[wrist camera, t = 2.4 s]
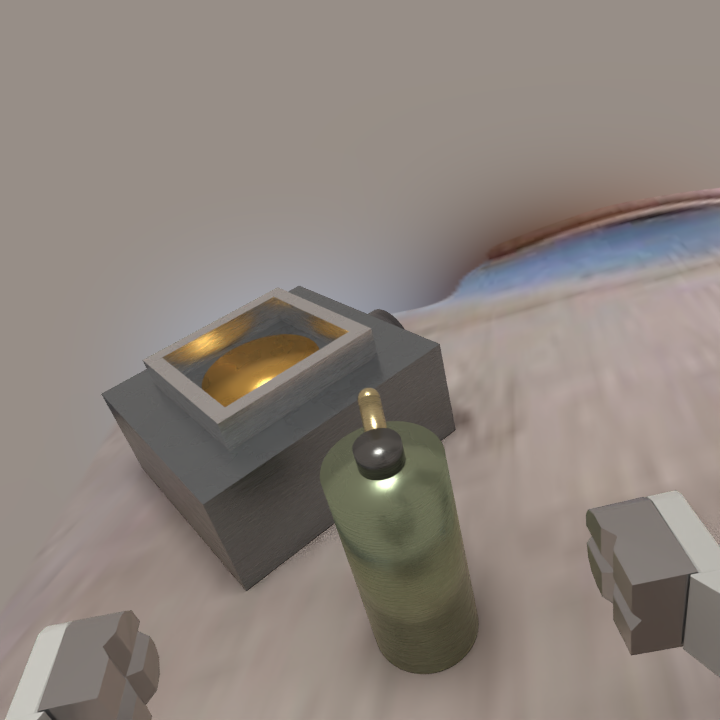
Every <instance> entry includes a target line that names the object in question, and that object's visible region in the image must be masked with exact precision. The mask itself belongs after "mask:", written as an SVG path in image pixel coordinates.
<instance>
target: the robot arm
mask: <svg viewBox="0 0 720 720" xmlns="http://www.w3.org/2000/svg"><path fill="white" fill-rule="evenodd" d="M586 525H587V527H588V529H589V531H590V533H591V535H592V537H591V538H590V539H589V541H588V542H587V549H588V558H589V562H590V566H591V570H592V573H593V576H594V579H595V581H596V584H597V586H598V588H599V590H600V593H601V595H602V597H604V598H605V599H607V600H608V601H610V602H611V603H613V620H614V622H615V624H616V626H617V628H618V630H619V632H620V634H621V636H622V638H623V640H624V642H625V644H626V646H627V648H628V650H629V652H630V654H631V655H637V654H642V653H648V652H654V651H659V650H665V649H670V648H676V647H682V646H684V647H683V649H684V650H685V651H687V652H688V653H689V654H690V655H692V656H693V657H694V658H696V659H697V660H698V661H699V662H701V663H702V664H703V665H705V666H706V667H707V668H708V669H710V670H711V671H712V672H714V673H715V674H716V675H717V676H719V677H720V546H719V544H718V543H717V541H716V540H715V539H714V537H713V536H712V535H711V533H710V532H709V531H708V529H707V528H706V526H705V525H704V524H703V522H702V521H701V520H700V518H699V517H698V516H697V514H696V513H695V511H694V510H693V509H692V507H691V506H690V505H689V503H688V502H687V501H686V499H685V498H684V496H683V495H682V494H681V493H679V492H678V491H676V490H675V491H670V492H666V493H661V494H657V495H652V496H647V497H641V498H636V499H632V500H628V501H623V502H619V503H615V504H610V505H606V506H602V507H597V508H593V509H589V510H588V511H587V514H586ZM139 623H140V621H139V619H138V618H137V617H136V615H135V614H134V613H133V611H132V610H130V611H123V612H118V613H112V614H107V615H102V616H96V617H91V618H86V619H81V620H75V621H71V622H66V623H61V624H56V625H51V626H46V627H45V628H44V629H43V630H42V631H41V632H40V634H39V635H38V636H37V639H36V641H35V644H34V647H33V649H32V652H31V654H30V657H29V659H28V662H27V665H26V667H25V670H24V672H23V675H22V677H21V680H20V682H19V685H18V688H17V690H16V693H15V695H14V698H13V700H12V703H11V706H10V708H9V711H8V713H7V716H6V718H5V719H4V720H151V719H152V715H151V713H150V711H149V710H148V708H147V706H146V704H147V703H148V702H149V700H150V699H151V698H152V696H153V695H154V694H155V692H156V691H157V688H158V682H159V676H160V667H159V655H158V652H157V649H156V646H155V644H154V642H153V641H152V639H151V637H150V636H148V635H146V634H143V633H141V632H139V631H138V628H139Z"/></svg>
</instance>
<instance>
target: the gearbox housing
mask: <svg viewBox="0 0 720 720" xmlns="http://www.w3.org/2000/svg"><path fill="white" fill-rule="evenodd" d="M143 362H144V364H145V366H146V368H147V369H146V370H144V371H142V372H141V373H139V374H137V375H135V376H133V377H131V378H130V379H128V380H126V381H124V382H123V383H120V384H119V385H117V386H115V387H113V388H111V389H110V390H108V391H106V392H104V393H102V396H103V398H104V399H105V401H106V403H107V405H108V407H109V409H110V410H111V412H112V414H113V416H114V418H115V419H116V421H117V423H118V425H119V427H120V428H121V430H122V432H123V434H124V436H125V437H126V439H127V441H128V443H129V445H130V446H131V448H132V450H133V452H134V454H135V456H136V457H137V459H138V461H139V463H140V465H141V466H142V468H143V469H144V470H145V472H146V473H147V474H148V475H149V476H150V477H151V479H152V480H153V481H154V482H155V483H156V485H157V486H158V487H159V488H160V489H161V490H162V492H163V493H164V494H165V495H166V496H167V498H168V499H169V500H170V501H171V502H172V503H173V505H174V506H175V507H176V508H177V509H178V511H179V512H180V513H181V514H182V515H183V516H184V518H185V519H186V520H187V521H188V522H189V524H190V525H191V526H192V527H193V528H194V530H195V531H196V532H197V533H198V534H199V535H200V537H201V538H202V539H203V540H204V541H205V543H206V544H207V545H208V546H209V547H210V548H211V550H212V551H213V552H214V553H215V554H216V556H217V557H218V558H219V559H220V560H221V561H222V563H223V564H224V565H225V566H226V567H227V569H228V570H229V571H230V572H231V573H232V574H233V576H234V577H235V578H236V579H237V580H238V582H239V583H240V584H241V585H242V586H243V587H244V589H245V590H246V591H247V590H248V589H249V588H251V587H252V586H253V585H254V584H256V583H257V582H258V581H260V580H261V579H262V578H264V577H265V576H266V575H267V574H269V573H270V572H271V571H273V570H274V569H275V568H276V567H278V566H279V565H280V564H282V563H283V562H284V561H286V560H287V559H288V558H289V557H291V556H292V555H293V554H295V553H296V552H297V551H299V550H300V549H301V548H302V547H304V546H305V545H306V544H308V543H309V542H310V541H311V540H313V539H314V538H315V537H317V536H318V535H319V534H321V533H322V532H323V531H324V530H326V529H327V528H328V527H330V526H331V525H332V524H334V523H335V522H334V519H333V516H332V513H331V511H330V508H329V505H328V502H327V499H326V496H325V494H324V491H323V488H322V485H321V482H320V469H321V465H322V462H323V460H324V458H325V456H326V455H327V453H328V452H329V450H330V449H331V448H332V447H333V446H334V445H335V444H336V443H337V442H338V441H339V440H341V439H342V438H343V437H345V436H346V435H348V434H350V433H351V432H353V431H355V430H357V429H360V428H362V427H363V424H362V419H361V414H360V409H359V405H358V395H359V393H360V391H361V390H363V389H364V388H373V389H375V390H377V392H378V393H379V395H380V398H381V403H382V407H383V412H384V416H385V421H386V422H388V421H403V422H410V423H414V424H418V425H420V426H423V427H425V428H427V429H429V430H430V431H432V432H433V433H434V434H435V435H436V436H437V437H438V438H439V439H440V441H441V440H442V439H444V438H445V437H446V436H448V435H449V434H450V433H452V432H453V431H454V430H455V425H454V420H453V414H452V409H451V403H450V398H449V392H448V387H447V382H446V376H445V371H444V365H443V360H442V354H441V349H440V344H438V343H436V342H433V341H431V340H428V339H426V338H424V337H421V336H419V335H416V334H414V333H412V332H409V331H407V330H405V329H404V328H403V326H402V325H401V324H400V323H399V321H398V320H397V319H396V318H395V317H393V316H392V315H391V314H390V313H388V312H386V311H384V310H380V309H377V310H374V311H372V312H370V313H369V314H366V313H363V312H361V311H359V310H356V309H354V308H351V307H349V306H347V305H344V304H342V303H339V302H337V301H334V300H332V299H330V298H327V297H325V296H322V295H320V294H318V293H315V292H313V291H311V290H308V289H306V288H303V287H301V286H298V287H296V288H294V289H292V290H291V291H289V292H287V291H285V290H282V289H280V288H276V289H274V290H272V291H270V292H269V293H266V294H265V295H263V296H261V297H259V298H257V299H255V300H254V301H252V302H250V303H248V304H246V305H244V306H242V307H240V308H239V309H237V310H235V311H233V312H231V313H230V314H227V315H226V316H224V317H222V318H220V319H218V320H216V321H215V322H213V323H211V324H209V325H207V326H205V327H203V328H202V329H200V330H198V331H196V332H194V333H192V334H190V335H188V336H187V337H185V338H183V339H181V340H180V341H177V342H175V343H174V344H172V345H170V346H168V347H166V348H164V349H162V350H161V351H159V352H157V353H155V354H153V355H151V356H149V357H148V358H146V359H144V360H143Z"/></svg>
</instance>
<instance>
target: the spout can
mask: <svg viewBox="0 0 720 720" xmlns="http://www.w3.org/2000/svg"><path fill="white" fill-rule="evenodd" d="M358 405H359V409H360V414H361V419H362V424H363V427H362V428H360V429H357V430H355V431H353V432H351V433H350V434H348V435H346V436H345V437H343V438H342V439H341V440H339V441H338V442H337V443H336V444H335V445H334V446H333V447H332V448H331V449H330V450H329V452H328V453H327V455H326V456H325V458H324V460H323V462H322V465H321V469H320V482H321V485H322V488H323V491H324V494H325V496H326V499H327V502H328V505H329V508H330V511H331V513H332V516H333V519H334V522H335V525H336V528H337V530H338V533H339V536H340V539H341V542H342V545H343V547H344V550H345V553H346V556H347V559H348V562H349V564H350V567H351V570H352V573H353V576H354V579H355V581H356V584H357V587H358V590H359V593H360V596H361V598H362V601H363V604H364V607H365V610H366V613H367V615H368V618H369V621H370V624H371V627H372V630H373V632H374V635H375V638H376V641H377V644H378V646H379V648H380V650H381V652H382V653H383V655H384V656H385V657H386V658H387V659H388V660H389V661H390V662H391V663H392V664H394V665H395V666H397V667H398V668H400V669H402V670H405V671H408V672H412V673H418V674H429V673H436V672H439V671H443V670H445V669H448V668H450V667H452V666H453V665H455V664H456V663H458V662H459V661H460V660H462V659H463V658H464V657H465V656H466V655H467V653H468V652H469V651H470V649H471V648H472V646H473V644H474V642H475V639H476V637H477V633H478V615H477V610H476V605H475V600H474V595H473V590H472V585H471V580H470V575H469V570H468V565H467V560H466V555H465V550H464V545H463V540H462V535H461V530H460V525H459V520H458V515H457V510H456V505H455V500H454V495H453V490H452V485H451V480H450V475H449V470H448V465H447V460H446V455H445V450H444V447H443V444H442V442H441V441H440V439H439V438H438V437H437V436H436V435H435V434H434V433H433V432H432V431H430V430H429V429H427V428H425V427H423V426H420V425H418V424H414V423H410V422H403V421H388V422H386V421H385V416H384V412H383V407H382V403H381V398H380V395H379V393H378V392H377V390H375V389H373V388H364V389H363V390H361V391H360V393H359V395H358Z"/></svg>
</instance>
